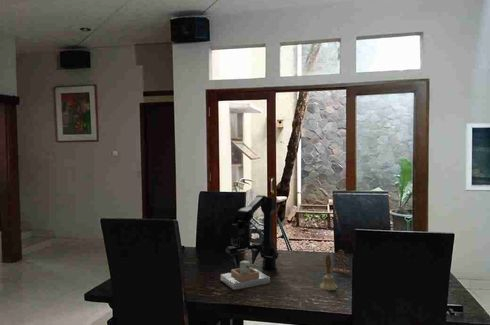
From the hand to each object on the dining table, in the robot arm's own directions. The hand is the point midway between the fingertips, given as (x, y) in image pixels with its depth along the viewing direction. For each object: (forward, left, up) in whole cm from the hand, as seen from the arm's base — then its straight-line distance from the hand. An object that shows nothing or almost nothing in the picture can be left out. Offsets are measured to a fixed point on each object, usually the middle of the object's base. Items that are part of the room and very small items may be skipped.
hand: (244, 265), depth 206 cm
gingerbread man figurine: (-53, +11, -9) cm, 55 cm away
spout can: (0, 0, -6) cm, 6 cm away
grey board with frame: (0, 0, -8) cm, 9 cm away
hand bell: (-32, +27, -9) cm, 43 cm away
